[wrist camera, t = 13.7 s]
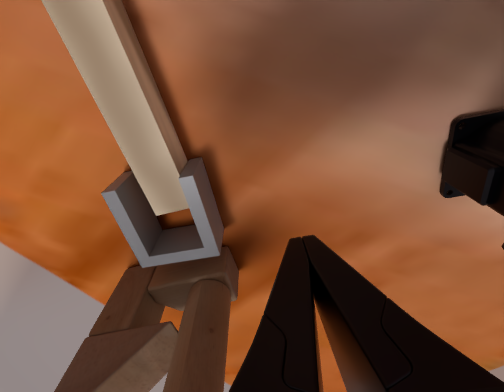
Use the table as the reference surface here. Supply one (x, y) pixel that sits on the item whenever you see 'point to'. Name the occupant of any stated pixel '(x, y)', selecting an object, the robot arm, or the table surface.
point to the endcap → (147, 225)
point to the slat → (124, 94)
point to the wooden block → (160, 330)
